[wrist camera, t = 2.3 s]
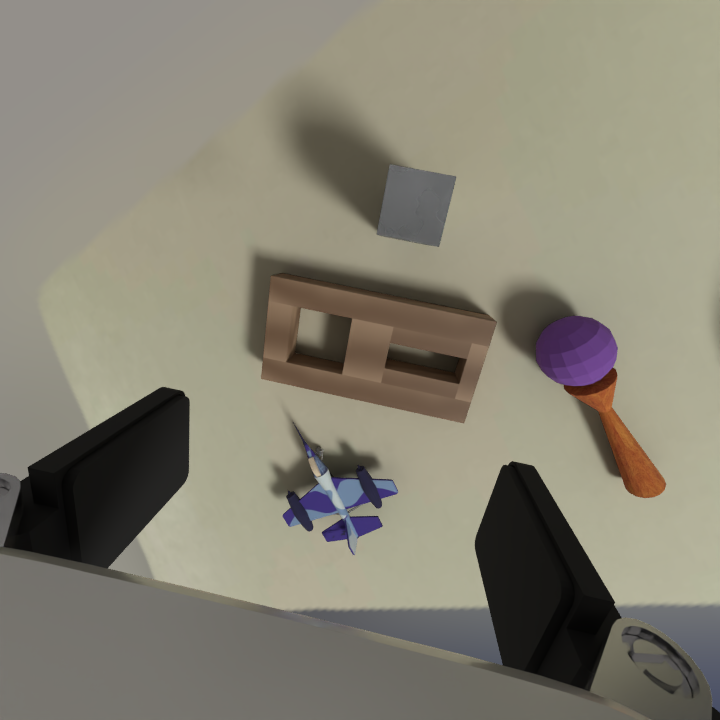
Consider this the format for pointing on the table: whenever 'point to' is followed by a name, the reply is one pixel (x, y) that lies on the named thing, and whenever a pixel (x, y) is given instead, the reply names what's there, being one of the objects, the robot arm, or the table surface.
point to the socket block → (377, 347)
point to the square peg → (415, 205)
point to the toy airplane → (338, 501)
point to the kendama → (596, 391)
